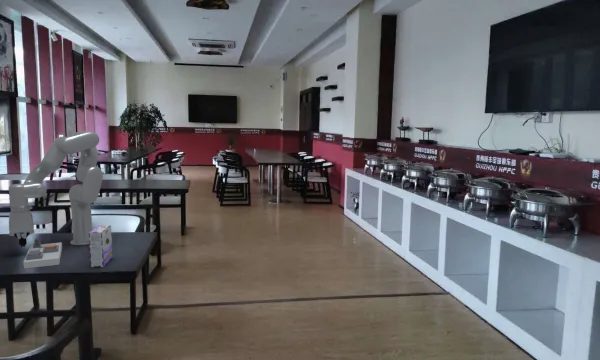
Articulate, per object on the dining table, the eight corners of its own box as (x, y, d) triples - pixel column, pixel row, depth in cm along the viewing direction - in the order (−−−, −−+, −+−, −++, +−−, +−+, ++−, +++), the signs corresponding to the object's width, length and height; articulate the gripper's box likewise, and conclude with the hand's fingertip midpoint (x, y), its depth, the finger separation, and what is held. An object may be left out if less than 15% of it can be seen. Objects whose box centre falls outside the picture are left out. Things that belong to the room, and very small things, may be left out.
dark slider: (41, 245, 230) (40, 237, 229) (40, 247, 225) (39, 239, 225) (34, 246, 229) (33, 238, 228) (33, 248, 224) (32, 240, 224)
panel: (62, 248, 237) (61, 239, 237) (59, 264, 210) (58, 254, 210) (31, 251, 231) (30, 242, 231) (23, 268, 205) (23, 258, 204)
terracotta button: (55, 248, 224) (55, 243, 224) (55, 250, 221) (55, 246, 220) (46, 249, 223) (46, 244, 222) (45, 251, 219) (45, 247, 219)
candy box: (100, 258, 220) (98, 224, 218) (113, 258, 220) (111, 224, 218) (90, 267, 206) (88, 231, 204) (103, 267, 207) (101, 231, 205)
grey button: (40, 252, 214) (39, 247, 213) (39, 254, 210) (38, 249, 210) (30, 253, 212) (29, 248, 212) (29, 256, 208) (28, 250, 208)
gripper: (38, 206, 228) (41, 242, 231) (3, 209, 222) (6, 246, 225) (36, 209, 222) (39, 246, 224) (0, 212, 216) (4, 250, 218)
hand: (23, 246), depth 225 cm, fingers closed
